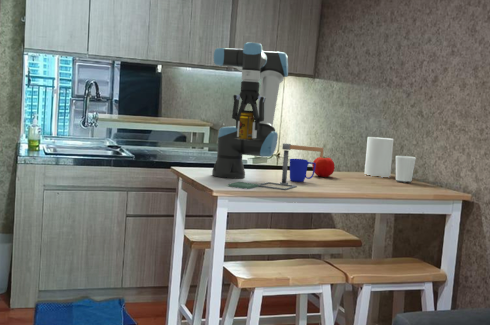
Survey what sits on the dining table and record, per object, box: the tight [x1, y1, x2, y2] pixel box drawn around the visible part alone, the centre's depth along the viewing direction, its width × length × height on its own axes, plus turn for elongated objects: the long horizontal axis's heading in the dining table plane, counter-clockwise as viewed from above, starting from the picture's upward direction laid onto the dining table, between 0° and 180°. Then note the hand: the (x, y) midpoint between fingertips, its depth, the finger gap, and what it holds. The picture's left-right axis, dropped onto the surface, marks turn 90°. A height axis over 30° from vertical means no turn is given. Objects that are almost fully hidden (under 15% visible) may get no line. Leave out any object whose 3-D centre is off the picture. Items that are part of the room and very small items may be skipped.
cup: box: [395, 155, 417, 184], centre depth 333 cm, size 10×10×13 cm
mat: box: [227, 181, 259, 190], centre depth 278 cm, size 9×10×1 cm
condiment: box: [239, 109, 256, 140], centre depth 275 cm, size 7×8×12 cm
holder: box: [257, 181, 298, 191], centre depth 285 cm, size 14×14×1 cm
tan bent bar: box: [281, 142, 325, 157], centre depth 290 cm, size 4×18×4 cm, turn 76°
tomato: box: [311, 156, 335, 178], centre depth 333 cm, size 11×13×10 cm
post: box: [279, 149, 290, 185], centre depth 292 cm, size 4×4×15 cm
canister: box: [364, 136, 394, 178], centre depth 354 cm, size 14×14×20 cm
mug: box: [289, 158, 316, 183], centre depth 307 cm, size 8×12×10 cm
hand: (246, 137), depth 276 cm, fingers closed on condiment, 6 cm apart
